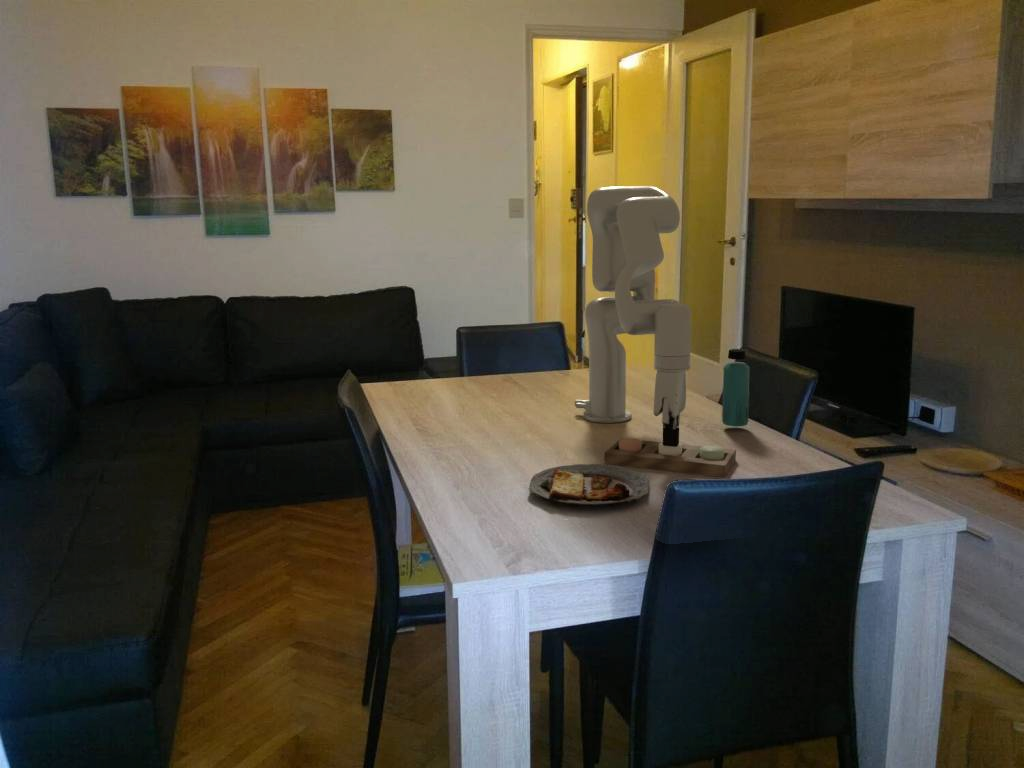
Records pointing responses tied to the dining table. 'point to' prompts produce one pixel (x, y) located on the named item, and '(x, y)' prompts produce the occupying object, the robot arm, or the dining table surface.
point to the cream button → (670, 450)
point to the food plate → (570, 485)
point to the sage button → (712, 453)
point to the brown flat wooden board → (670, 459)
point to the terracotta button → (630, 444)
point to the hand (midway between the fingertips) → (670, 445)
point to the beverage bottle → (735, 390)
